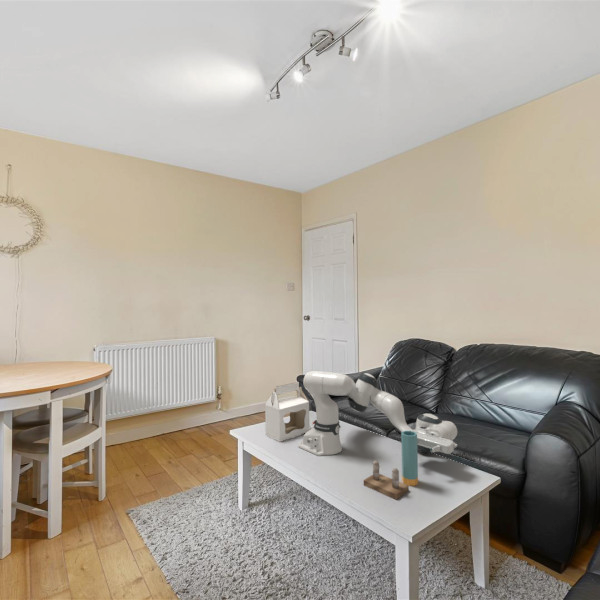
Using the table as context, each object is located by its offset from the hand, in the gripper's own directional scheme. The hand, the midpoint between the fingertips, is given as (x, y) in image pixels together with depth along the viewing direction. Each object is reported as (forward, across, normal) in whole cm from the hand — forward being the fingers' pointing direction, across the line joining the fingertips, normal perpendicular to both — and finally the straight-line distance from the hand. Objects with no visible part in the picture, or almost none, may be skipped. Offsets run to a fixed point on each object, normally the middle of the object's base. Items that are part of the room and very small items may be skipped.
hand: (421, 446), depth 151 cm
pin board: (+20, +5, -12) cm, 24 cm away
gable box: (+9, +76, -12) cm, 78 cm away
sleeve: (+9, 0, -12) cm, 15 cm away
